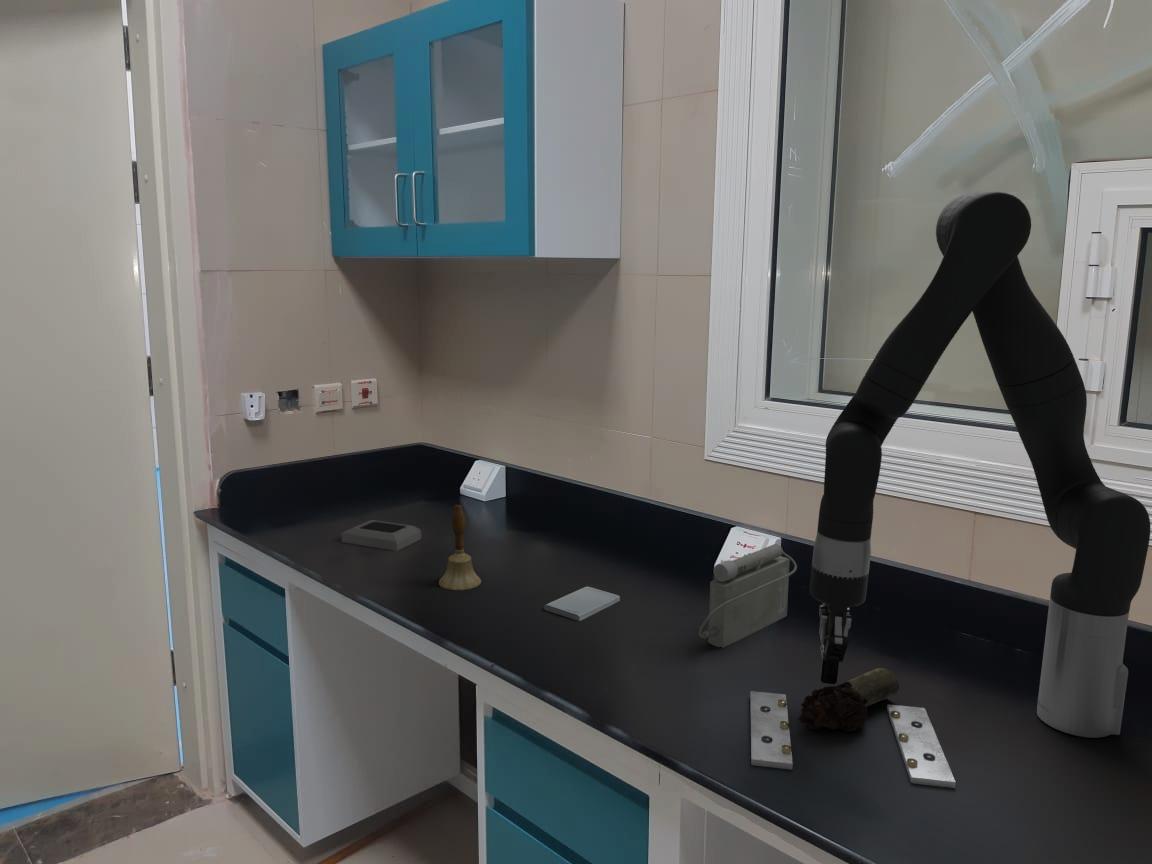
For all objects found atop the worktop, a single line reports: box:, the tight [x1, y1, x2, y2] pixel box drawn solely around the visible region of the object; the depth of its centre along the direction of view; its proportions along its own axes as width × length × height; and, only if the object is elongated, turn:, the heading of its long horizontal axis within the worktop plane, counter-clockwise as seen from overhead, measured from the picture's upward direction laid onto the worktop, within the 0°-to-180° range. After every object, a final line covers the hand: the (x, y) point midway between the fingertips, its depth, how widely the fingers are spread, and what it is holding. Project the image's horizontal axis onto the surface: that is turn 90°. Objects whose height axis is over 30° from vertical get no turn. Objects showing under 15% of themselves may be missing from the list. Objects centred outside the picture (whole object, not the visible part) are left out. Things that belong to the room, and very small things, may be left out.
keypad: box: [341, 519, 422, 552], centre depth 194 cm, size 10×4×15 cm
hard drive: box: [543, 586, 621, 622], centre depth 158 cm, size 2×8×12 cm
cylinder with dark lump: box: [798, 667, 900, 732], centre depth 118 cm, size 18×7×6 cm, turn 127°
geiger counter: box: [698, 543, 798, 649], centre depth 144 cm, size 14×6×25 cm
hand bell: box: [438, 504, 482, 591], centre depth 167 cm, size 8×8×16 cm
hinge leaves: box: [749, 690, 956, 789], centre depth 113 cm, size 24×18×1 cm
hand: (827, 681), depth 121 cm, fingers closed
